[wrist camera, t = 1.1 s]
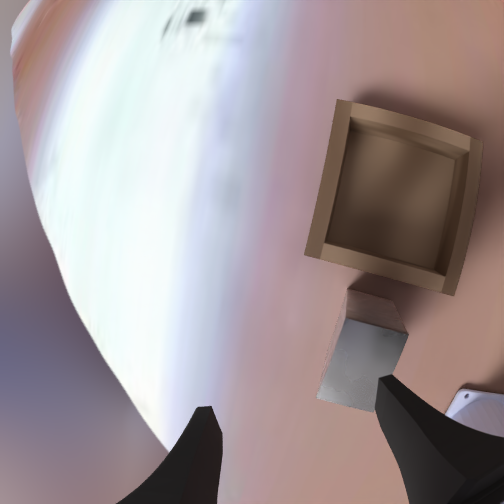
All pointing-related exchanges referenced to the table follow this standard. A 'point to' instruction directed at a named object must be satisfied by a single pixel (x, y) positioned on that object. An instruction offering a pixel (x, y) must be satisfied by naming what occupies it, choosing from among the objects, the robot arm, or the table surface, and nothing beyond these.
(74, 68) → the table surface
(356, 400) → the grey two-tone block
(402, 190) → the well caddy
